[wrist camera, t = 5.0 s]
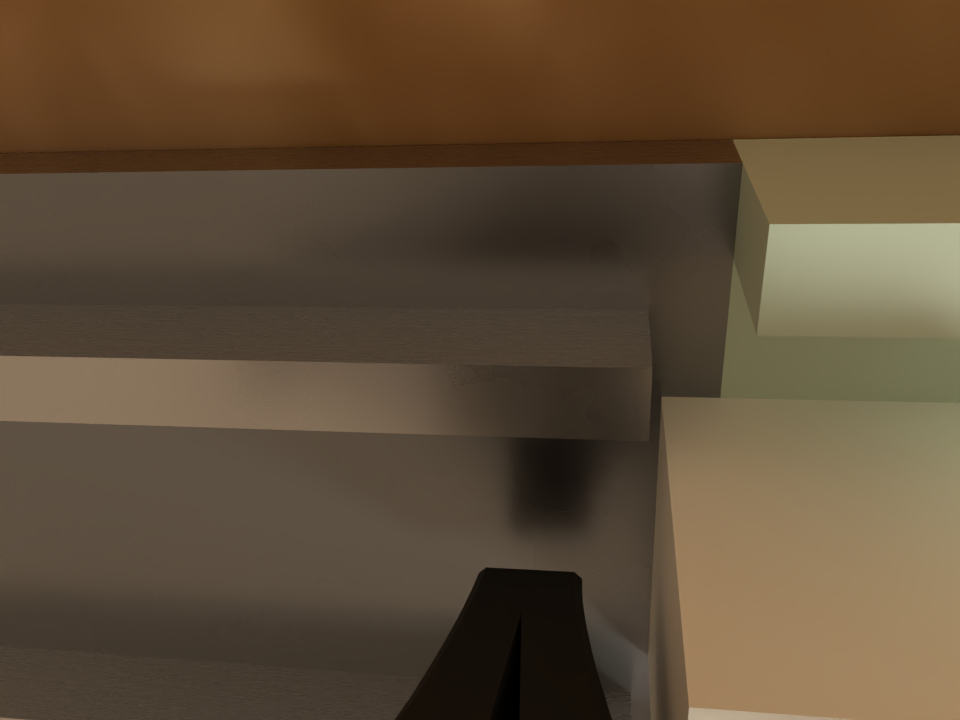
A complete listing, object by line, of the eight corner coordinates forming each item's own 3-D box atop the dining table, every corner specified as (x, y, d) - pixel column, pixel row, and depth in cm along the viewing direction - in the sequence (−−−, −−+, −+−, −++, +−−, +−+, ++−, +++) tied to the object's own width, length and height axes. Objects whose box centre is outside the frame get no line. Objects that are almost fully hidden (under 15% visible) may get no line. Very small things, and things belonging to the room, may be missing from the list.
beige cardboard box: (976, 678, 13) (1182, 1138, 8) (648, 656, 14) (665, 1068, 9) (1065, 405, 11) (1426, 832, 6) (661, 397, 12) (694, 771, 7)
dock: (678, 755, 17) (687, 887, 14) (-20, 696, 19) (-102, 803, 17) (732, 139, 11) (760, 206, 9) (-291, 158, 13) (-472, 215, 11)
